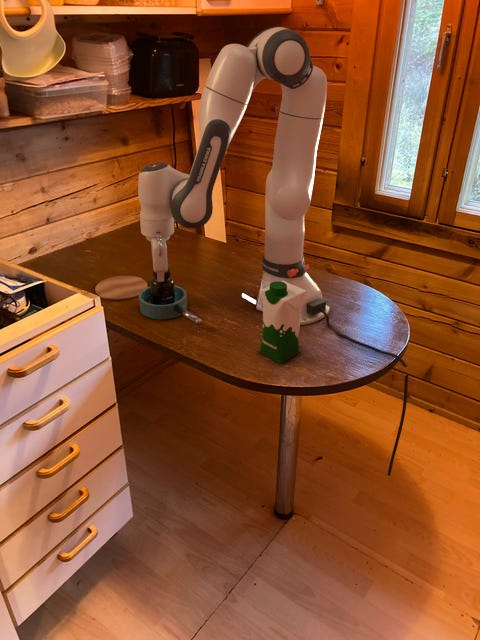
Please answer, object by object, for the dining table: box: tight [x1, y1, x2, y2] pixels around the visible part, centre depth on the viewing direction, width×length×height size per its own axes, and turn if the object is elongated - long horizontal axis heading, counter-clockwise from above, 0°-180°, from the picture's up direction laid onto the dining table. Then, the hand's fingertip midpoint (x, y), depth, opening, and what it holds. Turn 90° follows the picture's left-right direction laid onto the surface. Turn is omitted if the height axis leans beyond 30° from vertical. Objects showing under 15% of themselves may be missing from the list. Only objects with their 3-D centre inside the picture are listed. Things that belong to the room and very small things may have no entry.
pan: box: [138, 284, 188, 321], centre depth 148 cm, size 14×14×4 cm
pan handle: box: [174, 304, 203, 327], centre depth 139 cm, size 12×2×2 cm, turn 41°
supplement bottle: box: [149, 267, 175, 305], centre depth 146 cm, size 7×7×12 cm
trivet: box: [94, 275, 149, 301], centre depth 159 cm, size 16×16×1 cm
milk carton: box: [259, 281, 306, 365], centre depth 125 cm, size 9×9×20 cm
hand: (159, 273), depth 143 cm, fingers open, 8 cm apart
